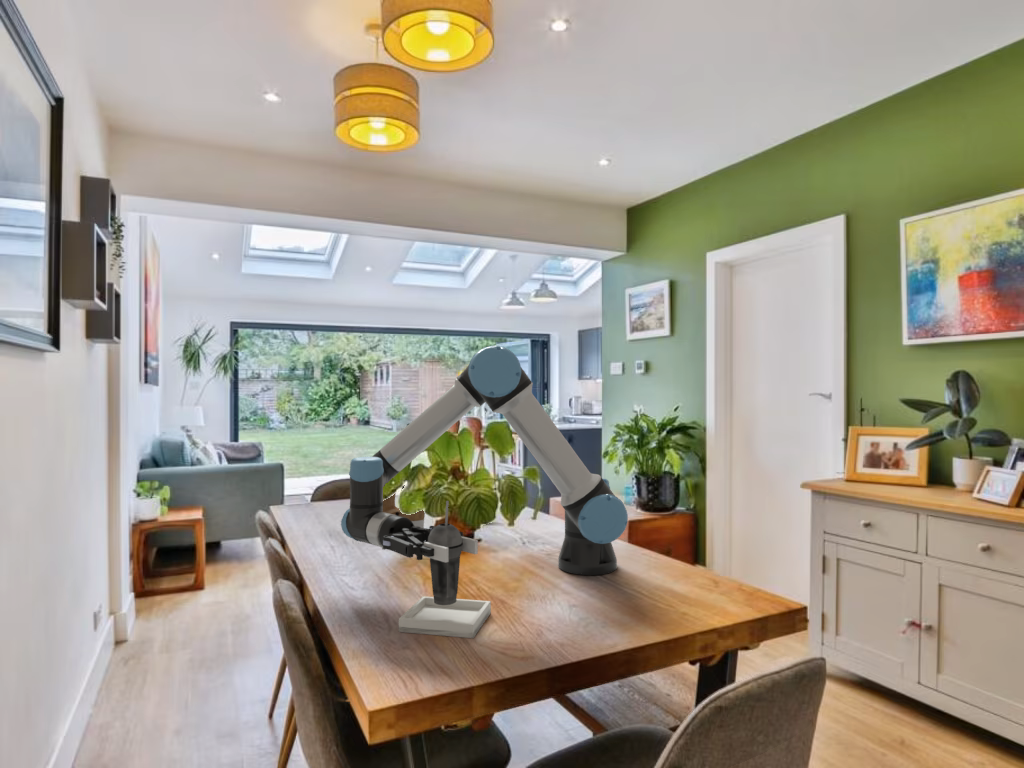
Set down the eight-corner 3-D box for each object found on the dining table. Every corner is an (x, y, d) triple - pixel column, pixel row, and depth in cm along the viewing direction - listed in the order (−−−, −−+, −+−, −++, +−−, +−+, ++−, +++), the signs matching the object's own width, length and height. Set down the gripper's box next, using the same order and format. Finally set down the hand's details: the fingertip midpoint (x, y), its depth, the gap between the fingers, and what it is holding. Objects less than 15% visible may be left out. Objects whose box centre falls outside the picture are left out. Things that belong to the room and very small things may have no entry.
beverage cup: (420, 604, 122) (419, 504, 122) (438, 592, 128) (437, 497, 128) (452, 609, 119) (452, 506, 119) (469, 597, 126) (468, 499, 126)
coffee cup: (422, 533, 198) (421, 487, 198) (397, 532, 200) (397, 486, 200) (430, 527, 206) (430, 482, 206) (407, 526, 208) (406, 482, 208)
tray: (490, 613, 128) (490, 601, 128) (473, 638, 116) (473, 625, 116) (423, 607, 132) (422, 596, 132) (398, 631, 119) (398, 618, 119)
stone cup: (362, 516, 225) (362, 475, 225) (392, 512, 232) (392, 472, 232) (380, 523, 213) (380, 480, 213) (411, 519, 220) (411, 477, 220)
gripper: (426, 540, 143) (497, 559, 128) (352, 558, 129) (421, 582, 113) (426, 508, 143) (497, 523, 128) (352, 522, 129) (421, 541, 113)
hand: (461, 551), depth 120 cm, fingers closed on beverage cup, 7 cm apart
